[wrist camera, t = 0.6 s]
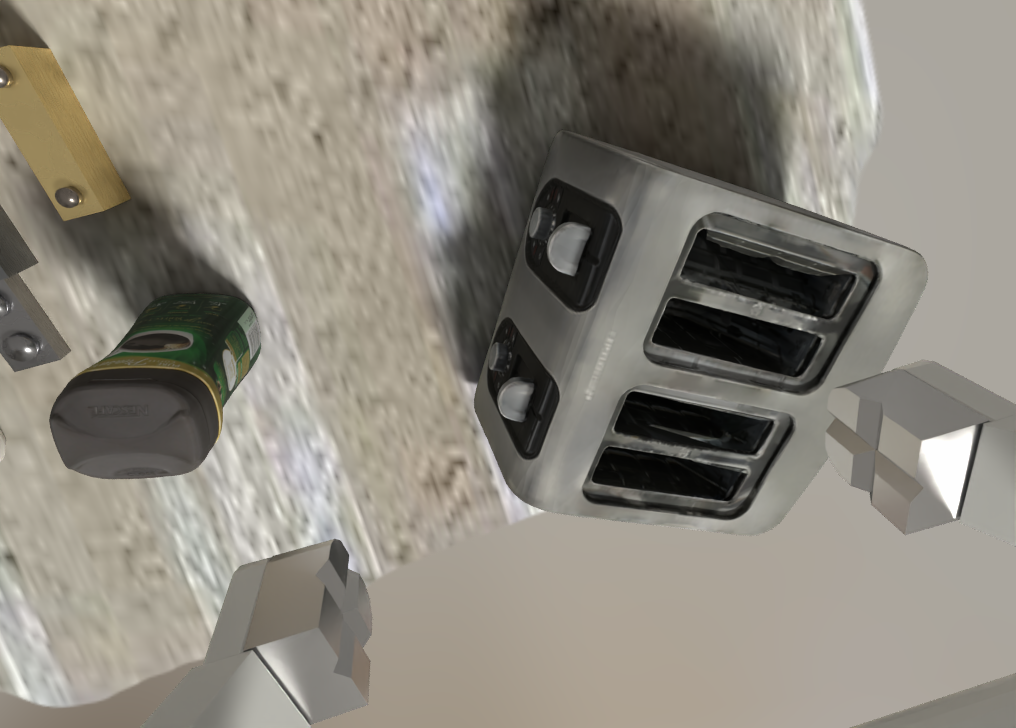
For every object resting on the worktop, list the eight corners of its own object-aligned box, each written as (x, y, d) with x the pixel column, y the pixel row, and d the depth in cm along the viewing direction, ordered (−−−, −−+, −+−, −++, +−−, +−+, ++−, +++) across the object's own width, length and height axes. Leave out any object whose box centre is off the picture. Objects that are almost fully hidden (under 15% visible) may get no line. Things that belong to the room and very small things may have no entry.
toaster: (540, 118, 48) (613, 139, 32) (823, 216, 57) (994, 272, 41) (455, 396, 60) (476, 518, 43) (702, 442, 69) (798, 557, 52)
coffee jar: (161, 369, 53) (54, 499, 36) (142, 289, 49) (14, 395, 33) (269, 366, 54) (213, 490, 38) (258, 290, 51) (191, 390, 35)
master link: (9, 58, 40) (-47, 55, 35) (51, 48, 40) (1, 44, 35) (95, 207, 46) (57, 223, 41) (132, 198, 46) (98, 213, 41)
